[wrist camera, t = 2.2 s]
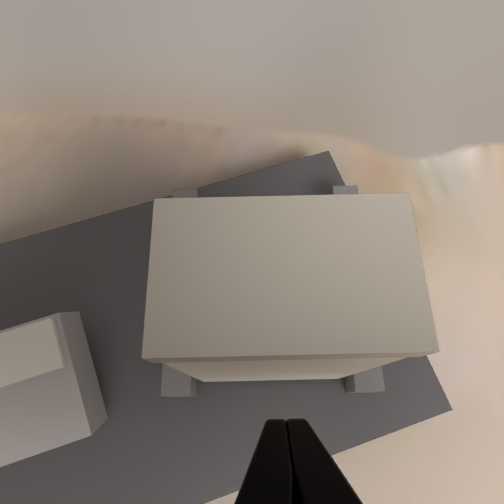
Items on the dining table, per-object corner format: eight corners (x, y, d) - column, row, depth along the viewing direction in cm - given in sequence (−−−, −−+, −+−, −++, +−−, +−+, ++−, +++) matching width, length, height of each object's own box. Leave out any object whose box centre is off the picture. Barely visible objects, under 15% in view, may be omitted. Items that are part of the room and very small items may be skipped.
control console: (429, 409, 16) (473, 410, 13) (-349, 700, 13) (-549, 798, 10) (321, 173, 20) (334, 130, 17) (-290, 352, 17) (-416, 340, 14)
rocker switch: (108, 418, 14) (89, 437, 12) (-36, 467, 14) (-80, 496, 12) (78, 311, 14) (56, 313, 12) (-62, 354, 14) (-110, 364, 12)
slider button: (339, 380, 15) (439, 351, 7) (202, 383, 15) (141, 358, 7) (331, 298, 16) (409, 192, 8) (204, 301, 16) (153, 198, 8)
